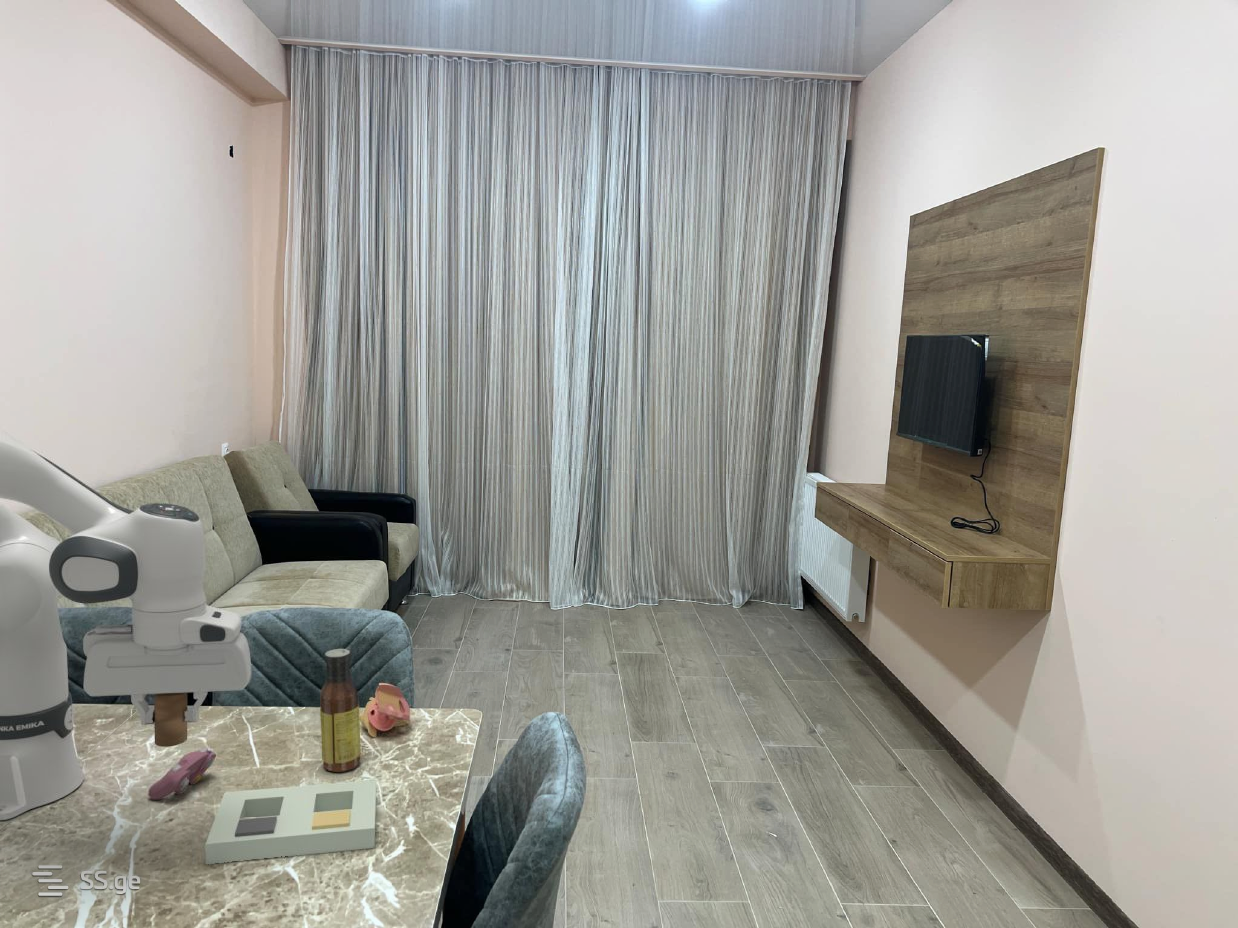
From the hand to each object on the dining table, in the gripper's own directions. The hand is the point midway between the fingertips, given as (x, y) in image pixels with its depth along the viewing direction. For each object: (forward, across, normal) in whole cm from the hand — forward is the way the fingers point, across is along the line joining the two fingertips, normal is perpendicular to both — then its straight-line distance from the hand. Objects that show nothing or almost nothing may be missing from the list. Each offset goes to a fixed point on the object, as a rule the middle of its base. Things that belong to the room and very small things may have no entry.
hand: (170, 721), depth 118 cm
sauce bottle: (+18, +22, +21) cm, 35 cm away
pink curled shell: (+18, +30, +34) cm, 48 cm away
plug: (+3, 0, 0) cm, 3 cm away
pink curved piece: (+19, -2, +17) cm, 26 cm away
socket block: (+18, +16, +2) cm, 25 cm away
